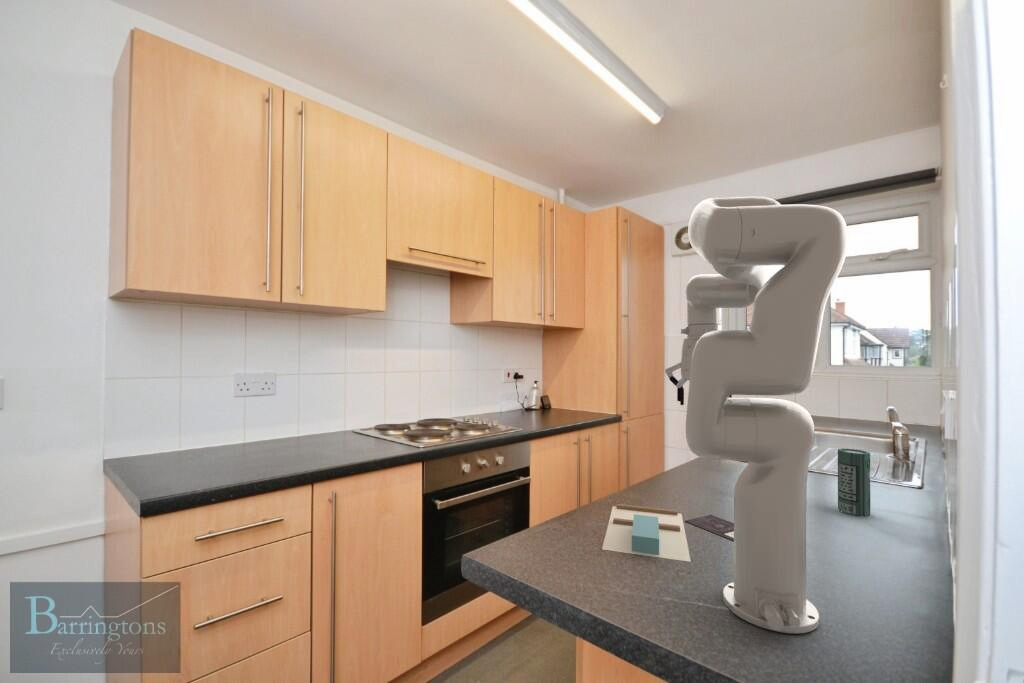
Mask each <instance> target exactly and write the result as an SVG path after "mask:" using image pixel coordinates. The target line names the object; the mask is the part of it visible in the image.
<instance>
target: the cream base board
mask: <svg viewBox="0 0 1024 683" xmlns="http://www.w3.org/2000/svg"><path fill="white" fill-rule="evenodd" d="M634 514H636V515H645V516H653V517H658V524H659V555H655V554H648V553H641V552H634V551H632V529H633V519H634ZM601 547H602V549H601V550H603V551H609V552H610V551H611V552H616V553H617V552H618V553H625V554H632V555H639V556H645V557H651V558H660V559H666V560H667V559H668V560H674V561H681V562H686V563H687V562H690V563H691V561H692V560H691V556H690V551H689V545H688V540H687V535H686V531H685V525H684V519H683V515H682V513H678V510H677V509H669V508H658V507H650V506H643V505H642V506H641V505H632V504H622V503H616V505H615V506H614V505H612V507H611V512H610V517H609V518H608V523H607V528H606V532H605V536H604V539H603V544H602V546H601Z"/></svg>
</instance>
